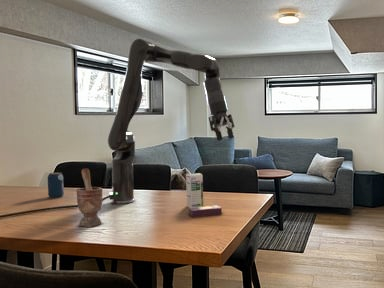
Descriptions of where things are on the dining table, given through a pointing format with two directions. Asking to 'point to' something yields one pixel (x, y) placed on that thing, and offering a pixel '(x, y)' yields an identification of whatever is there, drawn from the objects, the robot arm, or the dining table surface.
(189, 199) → the syrup box
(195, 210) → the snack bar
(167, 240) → the dining table surface
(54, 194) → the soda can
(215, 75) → the robot arm
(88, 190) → the mortar and pestle
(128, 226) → the dining table surface
